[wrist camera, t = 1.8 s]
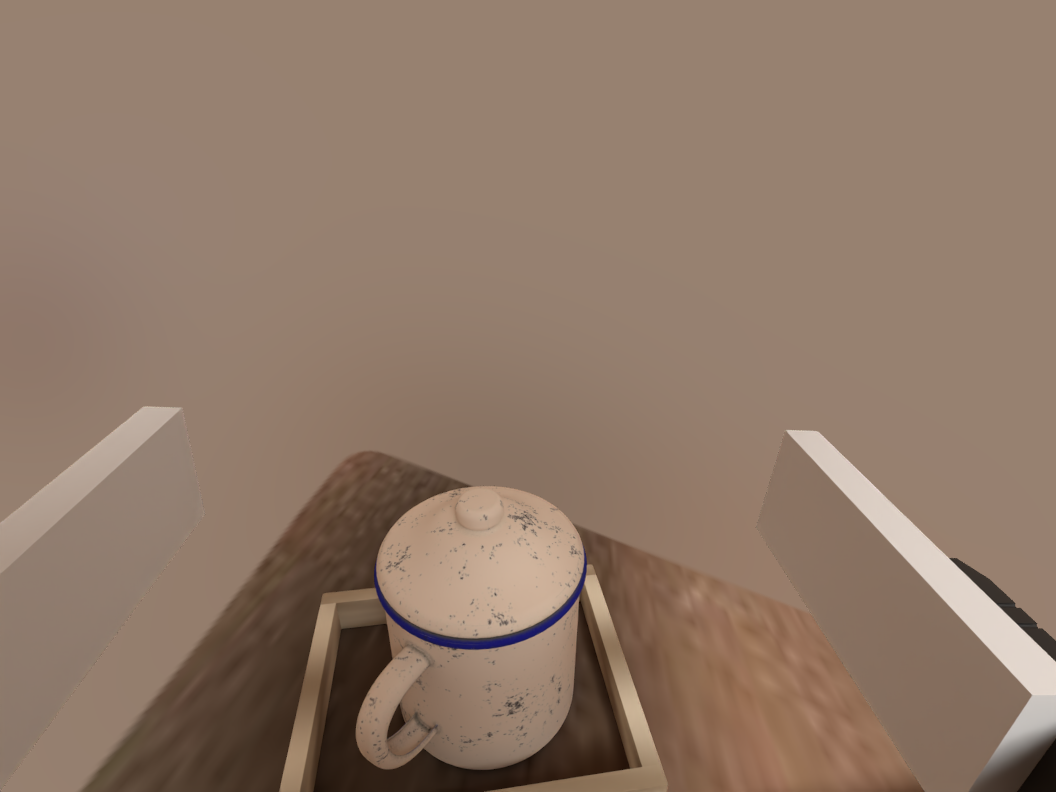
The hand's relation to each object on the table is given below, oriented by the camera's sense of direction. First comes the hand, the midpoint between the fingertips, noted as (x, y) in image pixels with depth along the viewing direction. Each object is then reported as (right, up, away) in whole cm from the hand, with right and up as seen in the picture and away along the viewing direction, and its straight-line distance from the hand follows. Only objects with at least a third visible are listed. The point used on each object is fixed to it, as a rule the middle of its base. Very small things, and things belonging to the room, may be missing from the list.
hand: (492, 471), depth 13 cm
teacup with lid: (-2, -14, +15) cm, 20 cm away
